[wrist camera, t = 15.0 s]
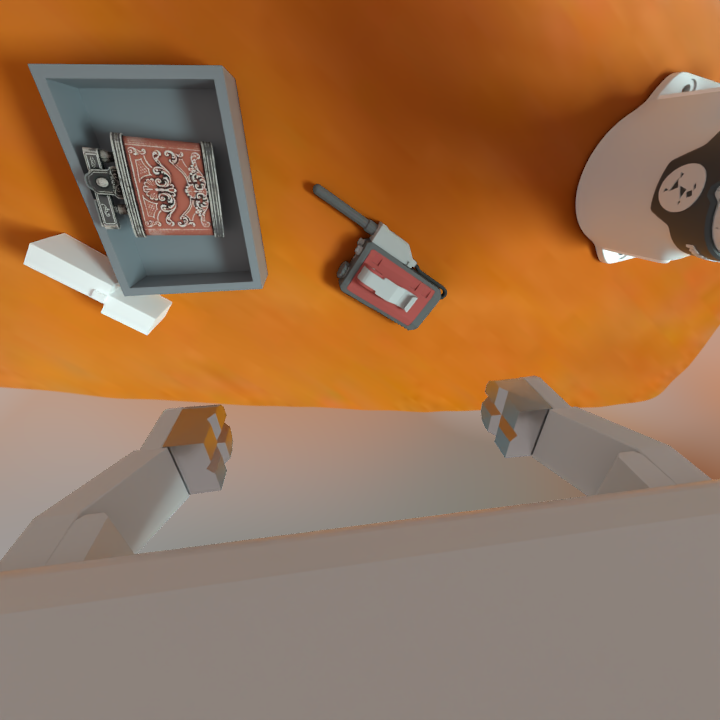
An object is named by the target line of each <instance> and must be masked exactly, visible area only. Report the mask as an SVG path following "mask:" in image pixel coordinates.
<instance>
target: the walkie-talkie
mask: <svg viewBox="0 0 720 720" xmlns="http://www.w3.org/2000/svg"><path fill="white" fill-rule="evenodd" d="M313 192H314V194H315V195H317V196H318V197H320V198H321V199H323V200H324V201H326V202H327V203H328V204H330V205H331V206H333V207H334V208H336V209H337V210H338V211H340V212H341V213H343V214H344V215H346V216H347V217H348V218H350V219H351V220H353V221H354V222H356V223H357V224H358V225H360V226H361V227H363V229H364V231H366V232H367V233H369V234H370V235H371V236H370V238H367V239H363V238H360V239H359V240H358V242H357V244H358V246H357V247H356V249H355V252H356V254H355V255H354V257H353V258H352V260H351V262H350V263H348V262H347V261H344V262H343V263H342V264H341V266H340V268H339V270H338V272H337V277H338V278H340V279H339V285H340V288H341V291H343V292H344V293H346V294H348V295H350V296H351V297H353V298H355V299H357V300H358V301H359V302H361V303H363V304H365V305H367V306H368V307H370V308H373V309H374V310H376V311H377V312H380V313H381V314H383V315H384V316H386V317H387V318H388V319H389V318H390V319H391V320H393V321H394V322H395V323H398V324H400V325H401V326H403V327H404V328H407V330H414V329H416V328H418V327H419V325H420V324H421V323H422V322H423V320H424V319H425V318H426V317H427V315H428V314H429V313H430V312H431V310H432V309H433V308H434V307H435V305H436V304H437V303H438V302H439V300H440V299H443V298H444V297H446V295H447V290H446V289H445V287H444V286H442V285H441V284H439V283H438V282H436V281H435V280H434V279H432V278H431V277H429V276H428V275H426V274H425V273H424V272H422V271H421V270H420V269H419V266H418V265H417V262H416V261H415V260H414V259H413V258H412V254H411V250H410V246H409V244H408V243H407V242H405V241H404V240H403V239H401V238H400V237H399V236H397V235H396V234H395V233H393V232H392V231H391V230H389V229H388V227H387V226H386V225H385V224H383V223H382V222H379V224H378V225H377V224H376V223H375V222H373V221H372V220H368V219H367V218H365V217H364V216H363V215H361V214H360V213H358V212H357V211H356V210H354V209H353V208H351V207H350V206H349V205H347V204H346V203H344V202H343V201H342V200H340V199H339V198H338V197H336V196H335V195H333V194H332V193H331V192H329V191H328V190H326V189H325V188H324V187H322V186H321V185H319V184H316V185H314V187H313ZM412 266H413V267H415V268H416V270H417V271H416V270H414V269H413V268H412ZM437 286H438V287H439V288H441V289H442V290H443V293H442V294H441V292H440V289H439V288H438V287H437Z"/></svg>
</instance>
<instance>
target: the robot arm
mask: <svg viewBox="0 0 720 720" xmlns="http://www.w3.org/2000/svg"><path fill="white" fill-rule="evenodd" d="M683 88H684V89H683ZM682 89H683V92H682ZM576 216H577V220H578V223H579V226H580V228H581V230H582V231H583V233H584V234H585V235H586V236H587V237H588V238H589V239H590V240H591V241H592V242H593V243H594V245H595V248H596V252H597V256H598V258H599V260H600V261H601V262H603V263H609V264H611V263H615V262H619V261H623V260H627V259H631V258H635V257H636V258H641V259H645V260H649V261H654V262H658V263H668V262H669V261H671V260H677V259H681V258H684V257H687V256H689V255H693V256H696V257H698V258H702V259H704V260H709V261H714V262H720V83H718V82H715V81H712V80H709V79H706V78H703V77H700V76H697V75H694V74H691V73H688V72H677V73H672V74H670V75H669V76H667V77H666V78H665V79H664V80H663V81H662V82H661V83H660V84H659V86H658V87H657V88H656V89H655V90H654V92H653V93H652V94H651V95H650V97H649V98H648V99H647V100H646V101H645V102H644V103H643V104H642V105H641V106H640V107H638V108H637V109H636V110H634V111H633V112H631V113H630V114H628V115H627V116H626V117H624V118H623V119H622V120H620V121H619V122H618V123H617V124H616V125H615V126H614V127H613V128H612V129H611V130H610V131H609V132H608V133H607V134H606V135H605V136H604V138H603V139H602V140H601V141H600V143H599V144H598V145H597V147H596V148H595V150H594V151H593V153H592V154H591V156H590V158H589V160H588V162H587V164H586V166H585V168H584V170H583V173H582V175H581V178H580V181H579V185H578V189H577V194H576ZM485 392H486V394H487V395H488V397H487V398H486V399H485V401H484V402H483V403H482V408H481V416H482V421H483V424H484V426H485V428H486V429H487V431H488V432H490V433H492V434H493V435H495V436H496V437H495V443H496V445H497V446H498V447H499V449H500V451H501V452H502V454H503V455H504V457H505V458H510V457H521V456H532V457H533V458H534V459H536V460H537V461H538V462H540V463H541V464H543V465H544V466H546V467H547V468H548V469H550V470H551V471H553V472H554V473H556V474H557V475H558V476H560V477H561V478H563V479H564V480H566V481H567V482H568V483H570V484H572V485H573V486H574V487H576V488H577V489H579V490H580V491H581V492H583V493H584V494H586V495H587V496H584V497H577V498H568V499H561V500H553V501H545V502H538V503H529V504H522V505H513V506H506V507H498V508H490V509H483V510H475V511H467V512H459V513H452V514H444V515H436V516H428V517H421V518H413V519H405V520H397V521H389V522H383V523H374V524H366V525H358V526H351V527H343V528H335V529H327V530H320V531H312V532H304V533H296V534H288V535H281V536H274V537H265V538H258V539H249V540H242V541H235V542H226V543H218V544H211V545H204V546H195V547H187V548H180V549H172V550H165V551H156V552H149V553H141V554H138V553H139V551H140V550H141V549H142V548H143V547H144V546H145V545H146V544H147V543H148V541H149V540H150V539H151V538H152V537H153V536H154V535H155V534H156V533H157V532H158V531H159V529H160V528H161V527H162V526H163V525H164V524H165V523H166V522H167V521H168V519H169V518H170V517H171V516H172V515H173V514H174V513H175V512H176V511H177V510H178V508H179V507H180V506H181V505H182V504H183V503H184V502H185V500H186V499H188V497H189V495H190V494H197V493H204V492H211V491H218V490H221V489H222V486H223V482H224V479H225V475H226V472H227V470H226V467H225V463H226V462H227V461H228V460H229V459H230V457H231V453H232V444H233V439H232V432H231V429H230V426H228V425H227V424H225V423H224V421H225V418H226V413H225V410H224V407H223V406H222V405H209V406H194V407H185V408H184V407H182V408H169V409H166V410H164V411H163V412H162V414H161V416H160V417H159V419H158V421H157V422H156V424H155V426H154V427H153V429H152V431H151V432H150V434H149V436H148V437H147V439H146V440H145V442H144V444H143V445H142V447H141V449H140V450H137V451H133V452H131V453H130V454H128V455H127V456H125V457H124V458H122V459H121V460H120V461H118V462H117V463H115V464H114V465H112V466H111V467H109V468H108V469H106V470H105V471H103V472H102V473H100V474H99V475H97V476H96V477H95V478H93V479H91V480H90V481H89V482H87V483H86V484H84V485H83V486H81V487H80V488H78V489H77V490H75V491H74V492H72V493H71V494H69V495H68V496H66V497H65V498H63V499H62V500H61V501H59V502H58V503H56V504H55V505H53V506H52V507H50V508H49V509H47V510H46V511H44V512H43V513H41V514H40V515H38V516H37V517H35V518H34V519H33V520H32V521H31V523H30V524H29V525H28V526H27V528H26V529H25V530H24V532H23V533H22V534H21V536H20V537H19V538H18V539H17V541H16V542H15V543H14V544H13V546H12V547H11V548H10V549H9V551H8V552H7V553H6V555H5V556H4V557H3V558H2V560H1V561H0V720H720V479H716V480H712V479H711V478H709V477H708V476H707V475H706V474H704V473H703V472H702V471H701V470H699V469H698V468H697V467H696V466H694V465H693V464H692V463H691V462H689V461H688V460H687V459H686V458H684V457H683V456H682V455H681V454H679V453H678V452H677V451H675V450H674V449H673V448H672V447H671V446H669V445H667V444H664V443H661V442H659V441H657V440H654V439H652V438H650V437H647V436H645V435H643V434H640V433H638V432H635V431H633V430H630V429H628V428H626V427H623V426H621V425H618V424H616V423H614V422H611V421H609V420H606V419H604V418H602V417H599V416H597V415H595V414H592V413H590V412H587V411H585V410H582V409H580V408H578V407H570V406H569V405H568V404H567V403H566V402H565V401H564V400H563V399H562V398H561V397H560V396H559V395H558V394H557V393H556V392H555V391H553V390H552V389H551V388H550V387H549V386H548V385H547V384H546V383H545V382H544V381H543V380H542V379H541V378H539V377H537V376H529V377H520V378H516V379H505V380H494V381H489V382H488V384H487V385H486V390H485Z"/></svg>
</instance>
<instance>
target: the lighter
mask: <svg viewBox="0 0 720 720" xmlns="http://www.w3.org/2000/svg"><path fill="white" fill-rule="evenodd" d="M110 141H111V146H112V150H113V152H109V151H106V150H103V149H98V148H88V147H82V150H83V154H84V157H85V161H86V164H87V168H88V171H89V172H88V173H86V174H85V176H84V180H85V183H86V185H87V187H88V188H90V189H91V190H93V191H94V192H95V195H96V199H95V200H94V202H95V205H96V208H97V212H98V215H99V219H100V222H101V225H102V227H105V228H106V229H120V222H119V219H118V215H117V213H120V214H129V218H130V221H131V225H132V228H133V231H134V234H135V236H136V237H147V235H214V237H224V229H223V221H222V213H221V205H220V198H219V190H218V183H217V176H216V169H215V162H214V155H213V148H212V143H211V142H205V141H200V143H192V142H182V141H171V140H161V139H151V138H140V137H130V136H123V134H122V133H115V132H110ZM109 162H115V164H116V167H114V166H111V167H109V169H107V170H105V166H104V163H109ZM112 195H115V196H116V197H117V198H119V199H124V200H125V203H126V204H118V205H115V204H114V200H113V196H112Z"/></svg>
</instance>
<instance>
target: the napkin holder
mask: <svg viewBox="0 0 720 720" xmlns="http://www.w3.org/2000/svg"><path fill="white" fill-rule="evenodd" d="M24 265H26V266H28V267H30V268H32V269H34V270H37V271H39V272H41V273H43V274H45V275H47V276H49V277H51V278H53V279H55V280H57V281H59V282H61V283H63V284H65V285H67V286H69V287H71V288H73V289H75V290H77V291H79V292H81V293H83V294H85V295H87V296H89V297H91V298H93V299H95V300H97V301H99V302H101V303H103V304H104V306H103V309H102V311H101V313H102V314H104V315H106V316H108V317H110V318H112V319H115V320H117V321H119V322H121V323H123V324H125V325H127V326H129V327H131V328H133V329H135V330H137V331H139V332H141V333H143V334H145V335H148V334H149V333H150V332H151V331H152V330H153V329H154V328H155V327H156V325H157V324H158V323H159V322H160V321H161V320H162V319H163V318H164V317H165V315H166V313H167V311H168V310H169V308H170V306H171V304H172V302H171V301H170V300H168V299H166V298H164V297H162V296H160V295H140V296H124V294H123V292H122V290H121V287H120V285H119V282H118V280H117V278H116V275H115V273H114V270H113V268H112V266H111V263H110V261H109V258H108V257H107V256H106V255H104V254H102V253H100V252H98V251H97V250H95V249H93V248H91V247H89V246H88V245H86V244H84V243H82V242H80V241H78V240H77V239H75V238H73V237H71V236H69V235H68V234H66V233H62V234H59V235H56V236H52V237H49V238H45V239H42V240H39V241H35V242H32V243H30V244H29V248H28V251H27V254H26V257H25V261H24Z"/></svg>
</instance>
